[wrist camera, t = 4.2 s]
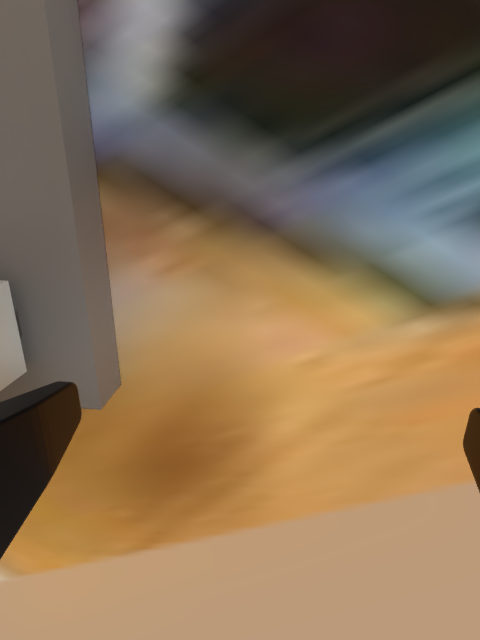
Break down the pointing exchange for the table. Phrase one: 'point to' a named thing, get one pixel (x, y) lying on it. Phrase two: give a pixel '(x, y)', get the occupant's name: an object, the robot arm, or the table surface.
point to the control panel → (52, 205)
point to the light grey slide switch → (9, 340)
